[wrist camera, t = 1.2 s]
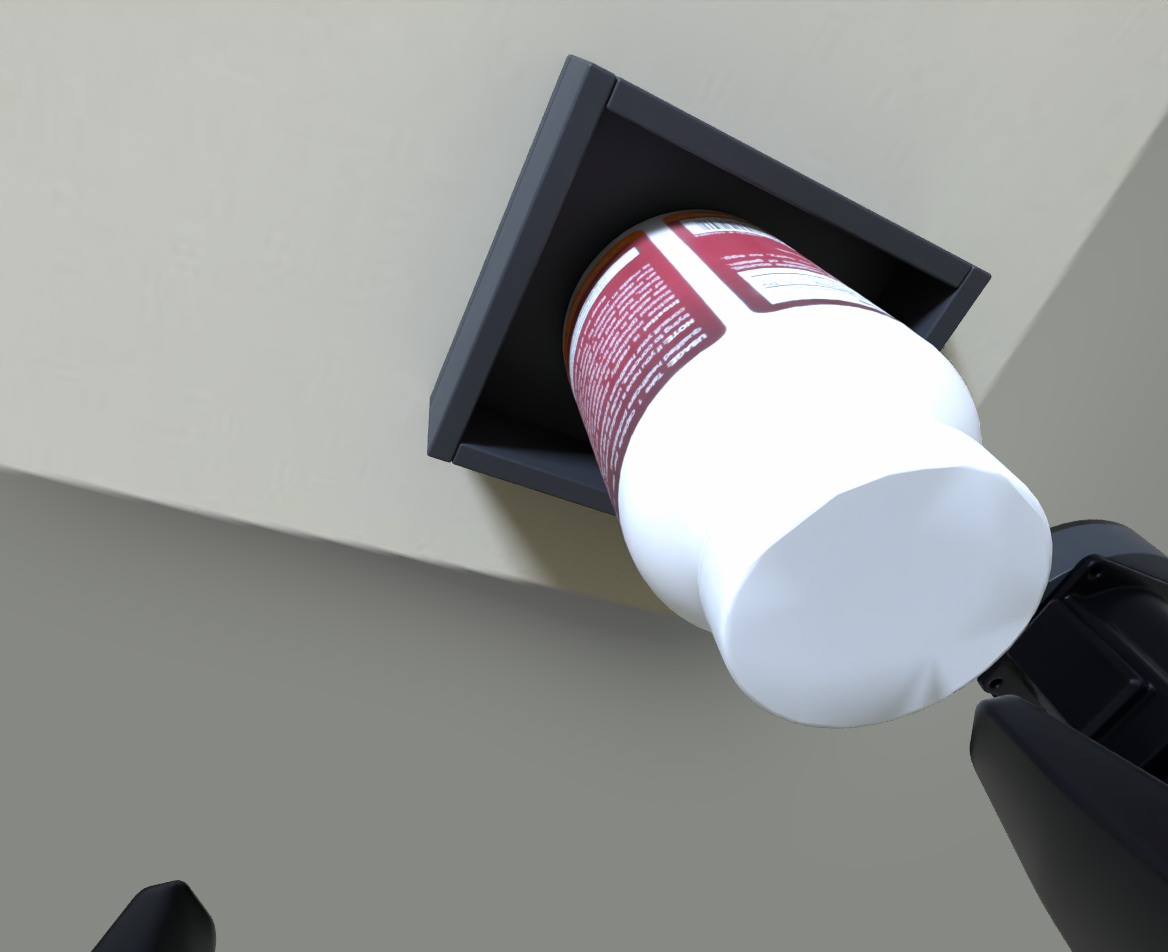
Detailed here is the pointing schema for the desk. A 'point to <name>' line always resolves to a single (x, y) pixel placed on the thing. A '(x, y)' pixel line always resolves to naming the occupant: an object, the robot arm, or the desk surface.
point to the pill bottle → (798, 473)
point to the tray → (598, 216)
